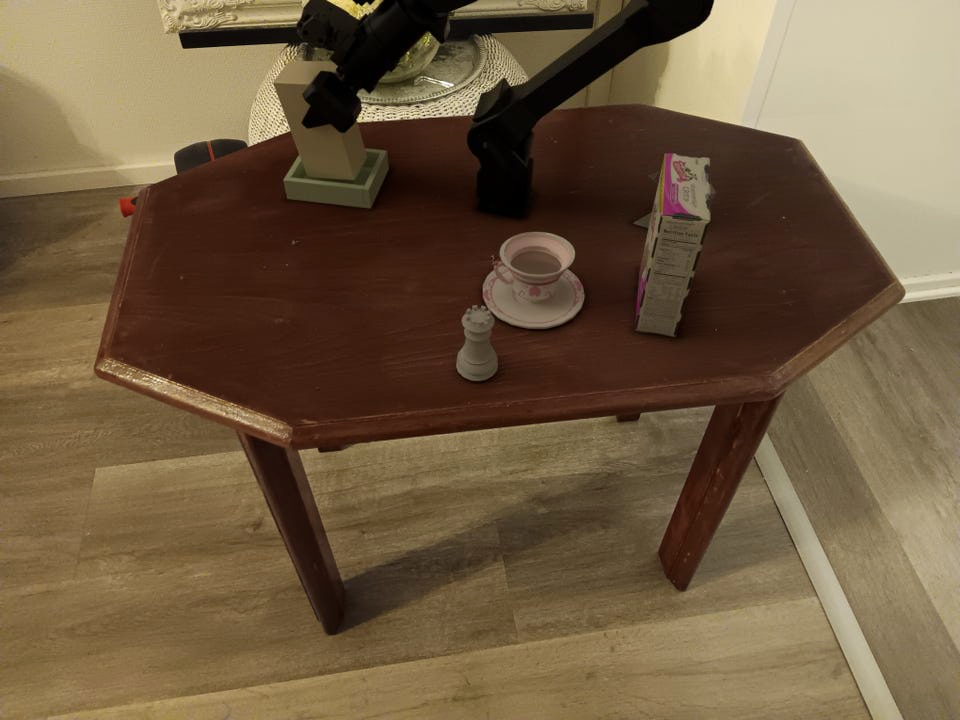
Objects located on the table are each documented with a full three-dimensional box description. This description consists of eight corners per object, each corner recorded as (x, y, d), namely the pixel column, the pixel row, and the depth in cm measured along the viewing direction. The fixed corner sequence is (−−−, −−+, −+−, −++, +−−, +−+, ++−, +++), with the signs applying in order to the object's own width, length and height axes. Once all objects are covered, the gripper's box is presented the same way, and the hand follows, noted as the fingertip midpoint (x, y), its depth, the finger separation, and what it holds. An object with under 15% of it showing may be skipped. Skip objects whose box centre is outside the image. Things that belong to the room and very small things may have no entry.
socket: (388, 169, 102) (387, 150, 100) (370, 208, 96) (368, 189, 93) (310, 160, 103) (306, 141, 101) (287, 199, 97) (283, 179, 95)
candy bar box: (636, 269, 88) (664, 150, 76) (678, 275, 87) (712, 156, 75) (631, 333, 81) (660, 212, 69) (676, 339, 80) (713, 219, 68)
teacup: (569, 257, 89) (575, 216, 85) (596, 324, 81) (604, 283, 77) (474, 267, 88) (474, 226, 83) (492, 336, 80) (494, 295, 75)
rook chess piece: (454, 353, 78) (454, 299, 72) (495, 351, 78) (498, 297, 72) (457, 384, 75) (457, 331, 69) (500, 382, 75) (503, 328, 69)
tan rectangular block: (367, 157, 99) (340, 61, 88) (355, 180, 96) (325, 84, 85) (321, 154, 100) (289, 60, 90) (307, 177, 98) (272, 82, 87)
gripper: (357, -52, 86) (286, 34, 95) (306, 11, 73) (230, 103, 82) (425, 21, 91) (351, 96, 100) (388, 92, 78) (307, 170, 87)
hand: (312, 113), depth 92 cm, fingers closed on tan rectangular block, 5 cm apart
